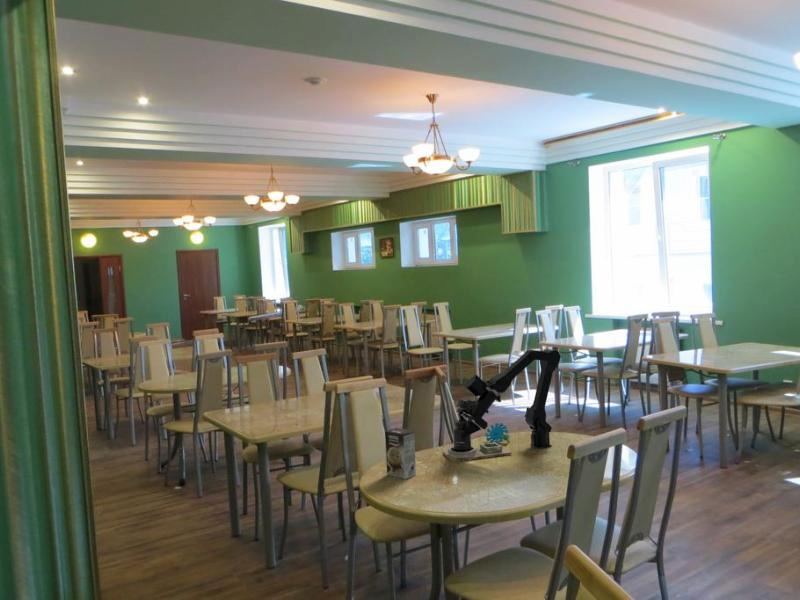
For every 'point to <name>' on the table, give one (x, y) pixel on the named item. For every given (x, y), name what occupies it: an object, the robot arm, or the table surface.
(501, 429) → the gear
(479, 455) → the socket board
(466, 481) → the table surface
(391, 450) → the coffee box
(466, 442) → the supplement bottle
